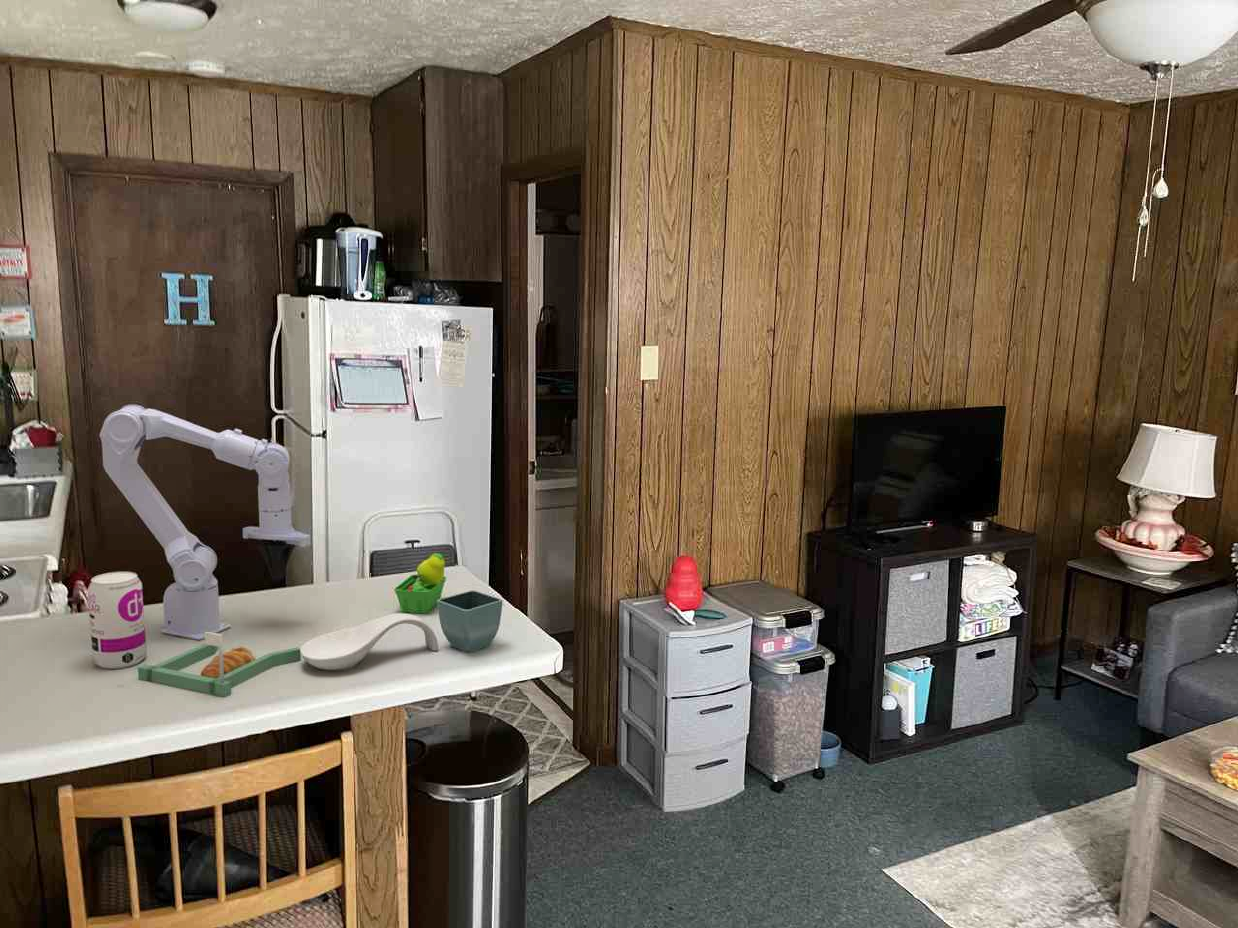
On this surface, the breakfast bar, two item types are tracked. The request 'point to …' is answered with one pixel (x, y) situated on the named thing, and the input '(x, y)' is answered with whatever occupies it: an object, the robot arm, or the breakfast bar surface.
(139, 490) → the robot arm
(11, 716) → the breakfast bar surface
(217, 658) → the pastry
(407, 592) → the fruit basket
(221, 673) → the green bars
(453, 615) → the flower pot
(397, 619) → the spoon rest
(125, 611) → the supplement can
